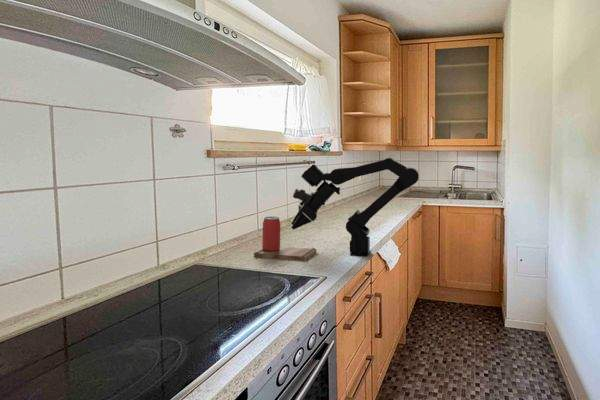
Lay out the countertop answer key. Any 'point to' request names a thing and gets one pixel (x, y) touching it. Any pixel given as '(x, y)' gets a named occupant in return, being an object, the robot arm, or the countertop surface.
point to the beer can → (271, 234)
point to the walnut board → (287, 253)
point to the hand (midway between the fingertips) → (292, 226)
